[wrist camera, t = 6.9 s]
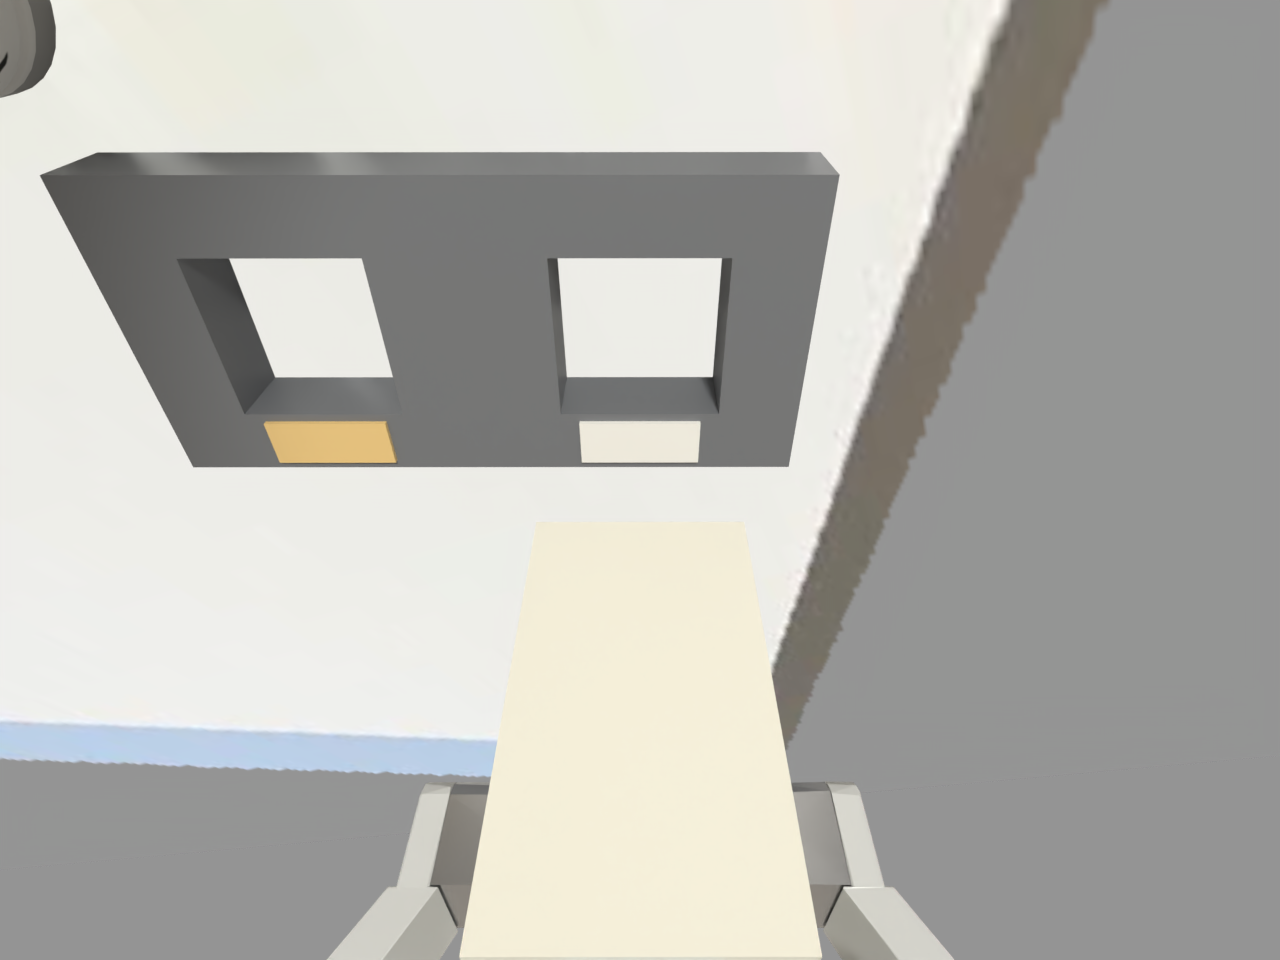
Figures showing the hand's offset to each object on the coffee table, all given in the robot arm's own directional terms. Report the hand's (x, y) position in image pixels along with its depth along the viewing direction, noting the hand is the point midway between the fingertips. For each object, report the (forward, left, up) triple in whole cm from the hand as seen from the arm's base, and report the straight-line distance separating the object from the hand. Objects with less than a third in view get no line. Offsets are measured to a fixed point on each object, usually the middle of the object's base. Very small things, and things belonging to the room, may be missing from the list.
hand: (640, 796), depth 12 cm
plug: (0, 0, -5) cm, 5 cm away
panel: (0, -7, -20) cm, 21 cm away
